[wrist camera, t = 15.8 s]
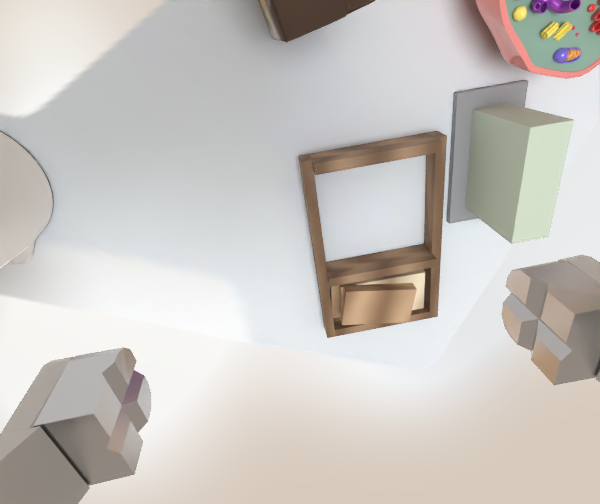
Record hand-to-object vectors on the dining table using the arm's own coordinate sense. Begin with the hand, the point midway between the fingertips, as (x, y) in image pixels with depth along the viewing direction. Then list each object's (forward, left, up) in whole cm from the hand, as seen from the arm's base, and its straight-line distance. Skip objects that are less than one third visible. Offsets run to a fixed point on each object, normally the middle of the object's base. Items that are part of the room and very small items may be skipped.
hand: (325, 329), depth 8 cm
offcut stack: (+11, -28, -37) cm, 47 cm away
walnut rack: (+11, -20, -37) cm, 43 cm away
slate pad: (+25, -11, -37) cm, 45 cm away
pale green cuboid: (+25, -11, -36) cm, 45 cm away
